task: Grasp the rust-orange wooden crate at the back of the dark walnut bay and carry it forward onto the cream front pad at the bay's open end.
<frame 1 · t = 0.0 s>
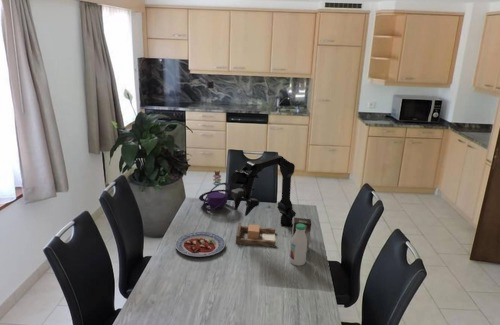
hand: (240, 212, 205), 15 cm above the table, tool pointing down, fingers open, 9 cm apart
milk bottle: (297, 262, 189), on the table
ceramic plate: (200, 247, 199), on the table
crate: (253, 237, 211), resting in bay
decorative bottle: (216, 207, 249), on the table
bay: (256, 237, 211), on the table
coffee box: (299, 248, 203), on the table
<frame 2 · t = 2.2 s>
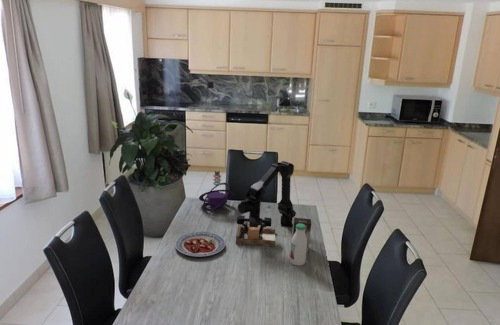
hand: (253, 235, 211), 2 cm above the table, tool pointing down, fingers closed on crate, 6 cm apart
crate: (253, 237, 211), resting in bay, touching gripper
everything else where it was.
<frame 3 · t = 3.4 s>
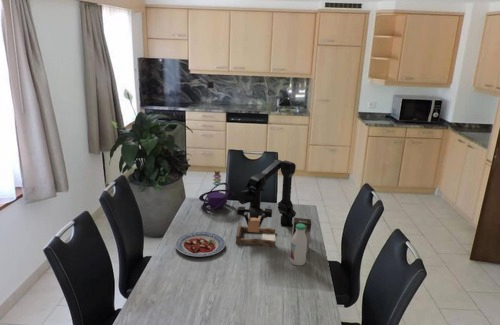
hand: (253, 226, 209), 7 cm above the table, tool pointing down, fingers closed on crate, 6 cm apart
crate: (253, 228, 210), point 5 cm above the table, touching gripper
everything else where it was.
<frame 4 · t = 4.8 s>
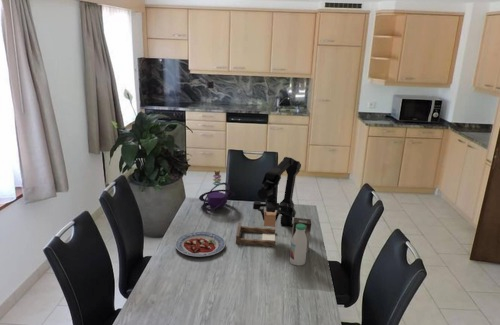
hand: (269, 220, 208), 11 cm above the table, tool pointing down, fingers closed on crate, 6 cm apart
crate: (269, 223, 208), point 9 cm above the table, touching gripper
everything else where it was.
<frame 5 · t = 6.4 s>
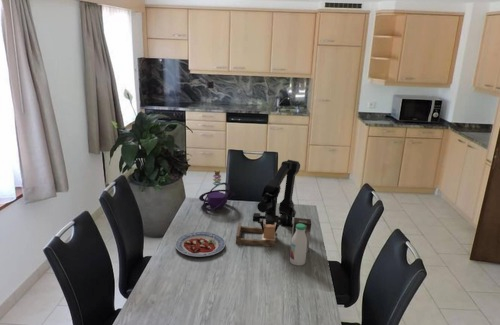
hand: (269, 232, 210), 4 cm above the table, tool pointing down, fingers closed on crate, 6 cm apart
crate: (269, 235, 210), point 2 cm above the table, touching gripper
everything else where it was.
when the fingers open (3 cm above the table, at t = 7.5 s): crate drops 1 cm, resting on bay.
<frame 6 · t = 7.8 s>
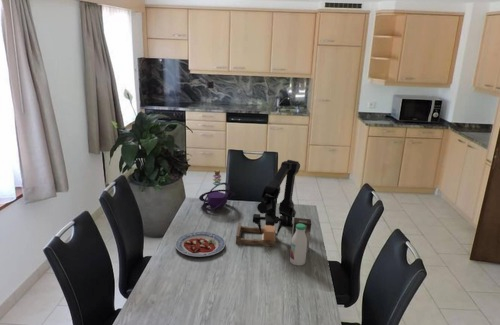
hand: (269, 233, 210), 3 cm above the table, tool pointing down, fingers open, 9 cm apart
crate: (268, 238, 211), resting on bay
everything else where it was.
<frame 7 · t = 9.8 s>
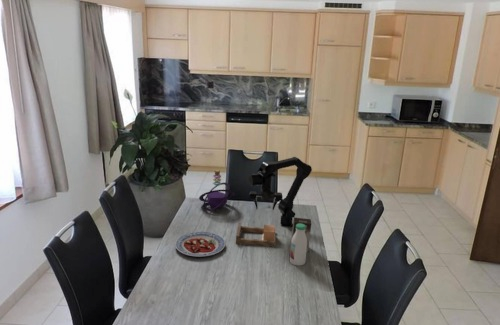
hand: (264, 209, 220), 12 cm above the table, tool pointing down, fingers open, 9 cm apart
nothing on the table moved.
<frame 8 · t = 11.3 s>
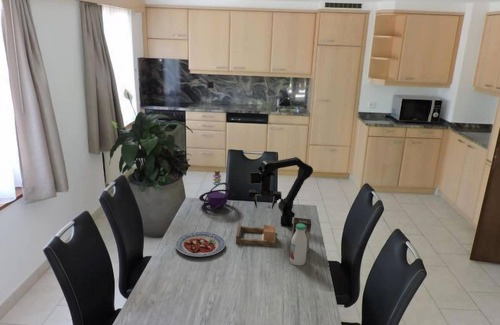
hand: (264, 208, 221), 12 cm above the table, tool pointing down, fingers open, 9 cm apart
nothing on the table moved.
at the end: crate inside the target area (0.0 cm from its centre), resting on bay; crate tilted 0°; the gripper is holding nothing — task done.
